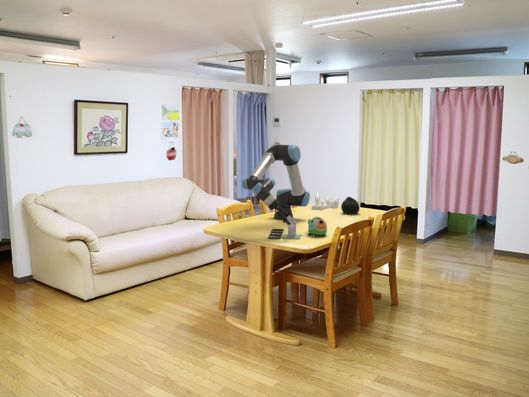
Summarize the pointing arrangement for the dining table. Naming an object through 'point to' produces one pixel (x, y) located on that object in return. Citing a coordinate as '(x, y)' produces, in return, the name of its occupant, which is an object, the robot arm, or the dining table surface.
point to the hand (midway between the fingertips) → (294, 225)
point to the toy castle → (328, 203)
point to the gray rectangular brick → (292, 231)
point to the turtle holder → (317, 226)
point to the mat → (291, 237)
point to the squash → (350, 206)
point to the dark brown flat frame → (276, 233)
